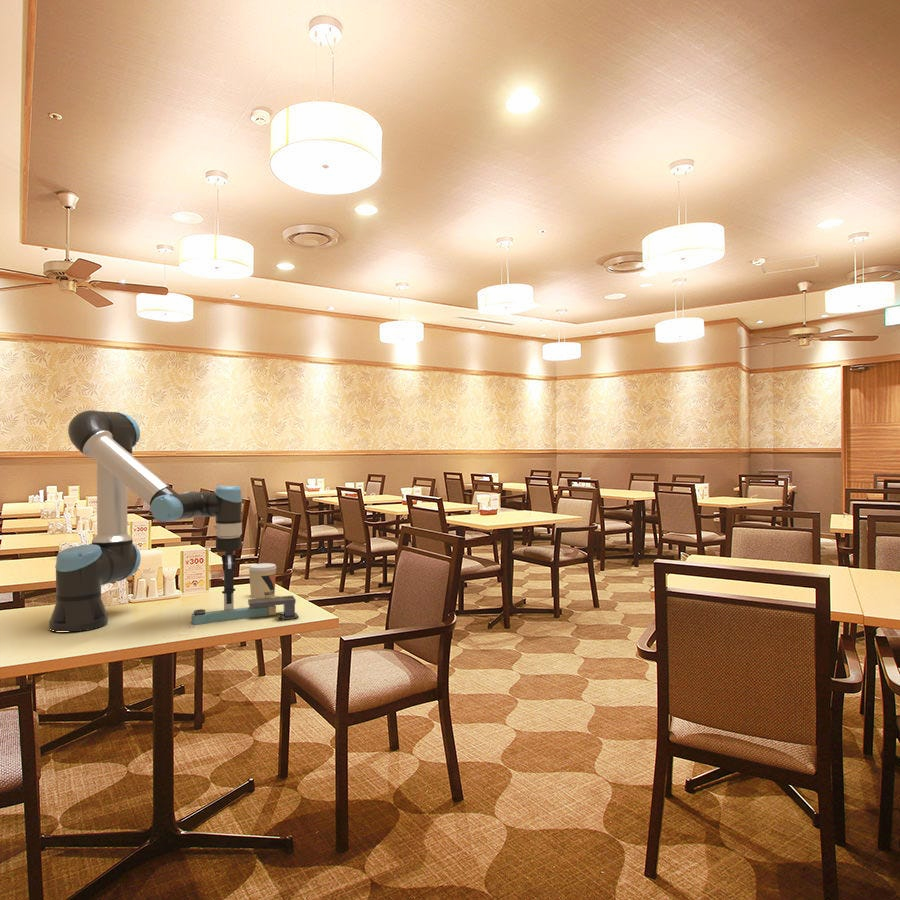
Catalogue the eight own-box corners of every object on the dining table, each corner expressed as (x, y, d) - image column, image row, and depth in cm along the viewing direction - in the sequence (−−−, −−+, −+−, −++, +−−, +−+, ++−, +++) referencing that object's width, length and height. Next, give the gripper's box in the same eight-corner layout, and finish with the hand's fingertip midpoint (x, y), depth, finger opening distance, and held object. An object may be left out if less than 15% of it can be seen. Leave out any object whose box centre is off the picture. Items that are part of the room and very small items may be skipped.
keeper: (249, 624, 192) (249, 603, 192) (248, 619, 198) (248, 599, 198) (298, 619, 198) (298, 599, 198) (295, 614, 203) (295, 595, 203)
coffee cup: (266, 603, 219) (266, 568, 219) (243, 601, 222) (243, 566, 222) (281, 597, 227) (281, 563, 228) (259, 595, 231) (259, 562, 231)
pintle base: (184, 633, 183) (184, 616, 183) (178, 625, 191) (178, 609, 191) (221, 628, 188) (221, 611, 188) (213, 620, 196) (213, 605, 196)
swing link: (193, 624, 187) (193, 616, 187) (191, 621, 190) (191, 613, 190) (276, 614, 198) (276, 606, 198) (273, 612, 202) (273, 603, 202)
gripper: (215, 534, 200) (215, 609, 200) (216, 540, 188) (216, 620, 188) (240, 533, 203) (240, 607, 203) (242, 538, 191) (242, 617, 191)
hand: (228, 613), depth 196 cm, fingers closed
